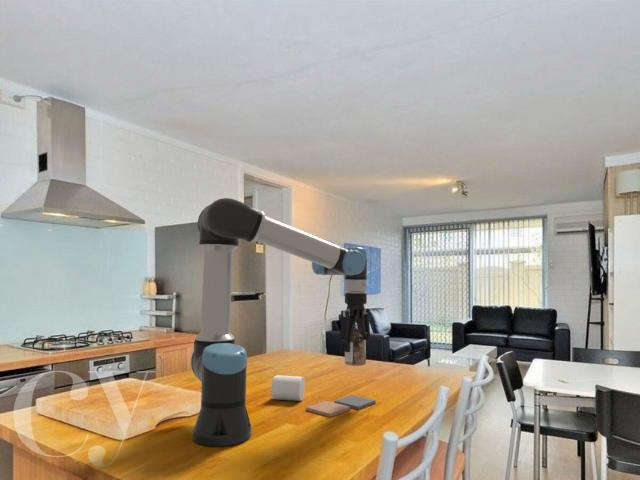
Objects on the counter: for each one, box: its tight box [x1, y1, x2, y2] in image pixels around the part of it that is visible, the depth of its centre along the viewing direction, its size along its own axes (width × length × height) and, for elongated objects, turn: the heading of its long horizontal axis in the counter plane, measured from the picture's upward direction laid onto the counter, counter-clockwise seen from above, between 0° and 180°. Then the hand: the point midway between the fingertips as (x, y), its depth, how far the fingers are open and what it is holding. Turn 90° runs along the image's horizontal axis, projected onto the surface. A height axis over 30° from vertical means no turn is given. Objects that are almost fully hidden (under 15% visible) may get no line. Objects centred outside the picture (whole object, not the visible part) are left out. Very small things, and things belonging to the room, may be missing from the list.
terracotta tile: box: [305, 400, 351, 418], centre depth 142 cm, size 10×10×1 cm
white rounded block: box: [270, 374, 306, 402], centre depth 156 cm, size 12×10×8 cm
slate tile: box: [333, 394, 377, 411], centre depth 150 cm, size 10×10×1 cm
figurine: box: [344, 327, 367, 367], centre depth 151 cm, size 7×7×12 cm
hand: (355, 360), depth 151 cm, fingers closed on figurine, 7 cm apart
